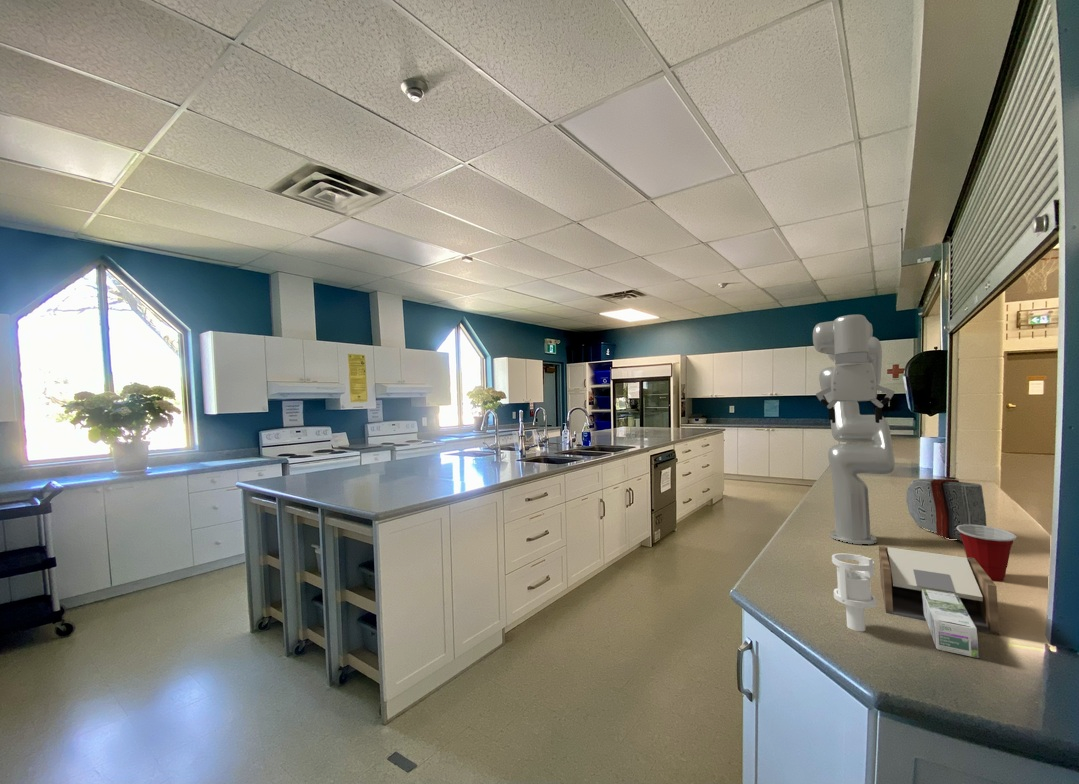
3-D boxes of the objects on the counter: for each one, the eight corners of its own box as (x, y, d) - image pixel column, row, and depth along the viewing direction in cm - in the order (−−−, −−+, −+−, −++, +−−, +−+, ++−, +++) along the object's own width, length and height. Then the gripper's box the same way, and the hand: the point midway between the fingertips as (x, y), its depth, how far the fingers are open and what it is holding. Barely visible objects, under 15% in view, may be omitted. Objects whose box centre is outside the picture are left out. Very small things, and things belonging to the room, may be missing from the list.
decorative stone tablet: (986, 482, 130) (920, 475, 159) (961, 482, 132) (900, 475, 161) (994, 548, 128) (926, 529, 157) (969, 547, 129) (906, 528, 158)
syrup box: (922, 614, 91) (936, 652, 79) (921, 586, 91) (934, 620, 79) (959, 621, 88) (980, 661, 76) (958, 592, 87) (977, 628, 76)
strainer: (864, 640, 83) (860, 561, 83) (827, 623, 89) (823, 551, 90) (885, 631, 86) (881, 555, 86) (848, 616, 92) (844, 545, 93)
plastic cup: (974, 583, 107) (970, 534, 107) (950, 567, 117) (947, 523, 117) (1032, 588, 103) (1028, 538, 103) (1002, 571, 113) (998, 525, 113)
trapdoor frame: (880, 583, 108) (878, 545, 108) (976, 600, 98) (974, 558, 98) (886, 612, 93) (883, 568, 93) (999, 635, 83) (996, 586, 83)
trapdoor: (887, 550, 106) (887, 546, 105) (966, 561, 97) (966, 557, 97) (893, 586, 95) (893, 581, 94) (982, 601, 86) (982, 596, 86)
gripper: (891, 358, 115) (894, 422, 115) (815, 364, 126) (818, 422, 125) (893, 356, 109) (897, 423, 109) (813, 362, 119) (816, 423, 119)
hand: (855, 422), depth 117 cm, fingers open, 9 cm apart
